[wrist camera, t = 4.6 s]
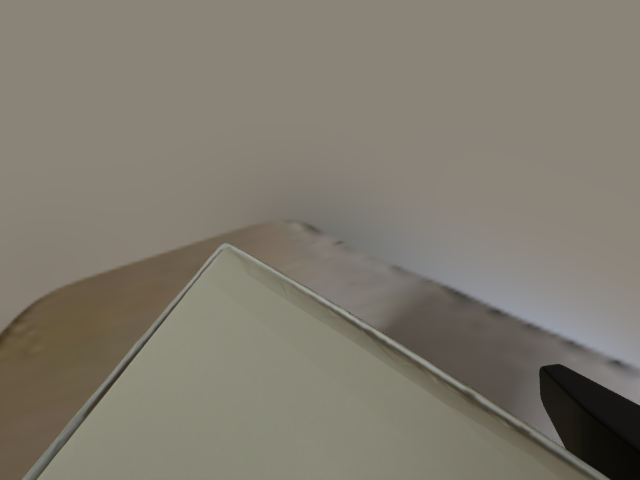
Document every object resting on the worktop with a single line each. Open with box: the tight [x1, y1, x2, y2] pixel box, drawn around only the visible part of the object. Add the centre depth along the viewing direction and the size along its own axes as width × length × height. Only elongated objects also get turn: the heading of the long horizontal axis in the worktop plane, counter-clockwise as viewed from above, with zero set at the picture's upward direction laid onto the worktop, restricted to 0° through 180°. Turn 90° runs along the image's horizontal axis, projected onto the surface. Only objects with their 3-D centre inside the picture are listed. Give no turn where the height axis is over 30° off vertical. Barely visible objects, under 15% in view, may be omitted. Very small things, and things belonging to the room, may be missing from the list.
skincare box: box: [22, 243, 610, 480], centre depth 8 cm, size 6×4×12 cm
